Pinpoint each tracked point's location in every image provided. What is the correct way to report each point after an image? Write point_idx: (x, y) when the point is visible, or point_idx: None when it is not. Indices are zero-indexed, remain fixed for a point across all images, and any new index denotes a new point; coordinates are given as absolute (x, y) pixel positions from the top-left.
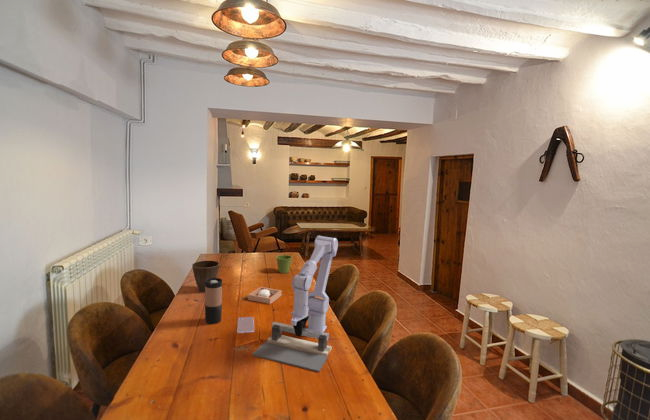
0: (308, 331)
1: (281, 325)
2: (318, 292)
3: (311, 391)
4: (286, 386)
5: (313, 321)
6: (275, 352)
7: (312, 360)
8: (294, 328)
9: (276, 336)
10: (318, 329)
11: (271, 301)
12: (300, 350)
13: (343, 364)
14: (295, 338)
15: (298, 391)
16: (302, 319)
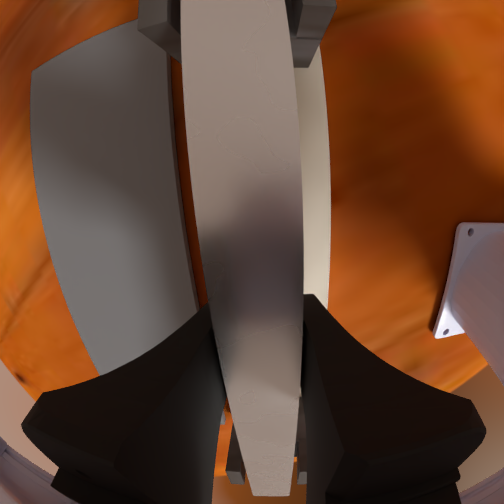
0: (243, 441)
1: (197, 45)
2: None
3: (52, 388)
4: (13, 325)
5: (501, 341)
6: (82, 167)
7: None
8: (156, 352)
9: (181, 62)
10: (466, 332)
11: None
12: (193, 310)
13: (219, 451)
14: (325, 212)
15: (28, 359)
16: (314, 492)
